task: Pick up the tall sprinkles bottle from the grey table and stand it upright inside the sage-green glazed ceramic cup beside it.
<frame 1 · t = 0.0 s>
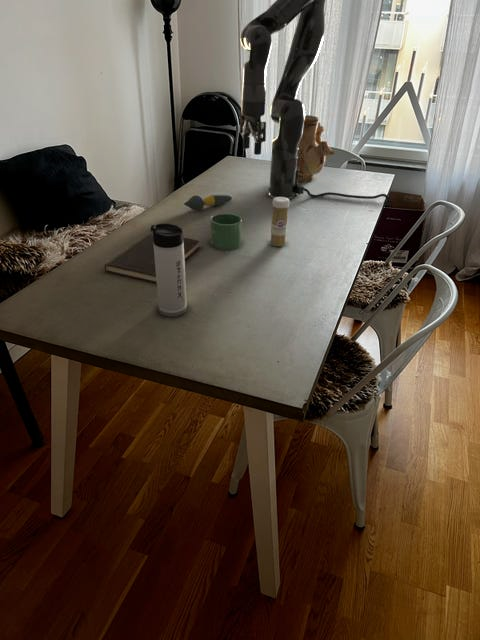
hand: (251, 151, 157), 17 cm above the table, tool pointing down, fingers open, 8 cm apart
travel mug: (172, 310, 106), on the table
sprinkles bottle: (277, 244, 137), on the table
paintbrush: (208, 207, 161), on the table
cup: (225, 243, 136), on the table
hardcover book: (155, 260, 127), on the table
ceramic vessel: (305, 179, 191), on the table
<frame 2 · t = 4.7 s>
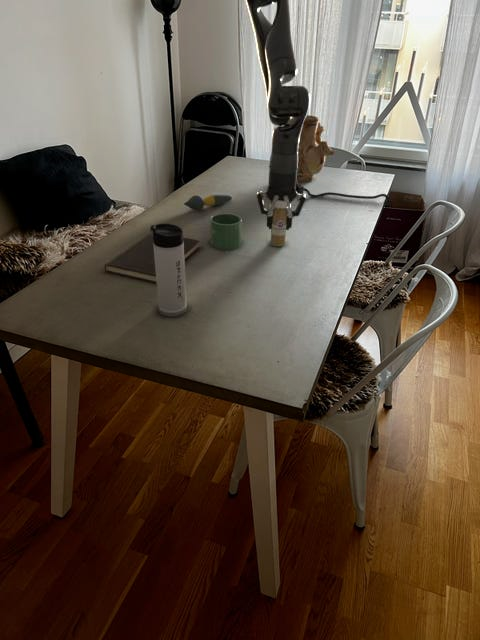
hand: (278, 228, 134), 5 cm above the table, tool pointing down, fingers closed on sprinkles bottle, 4 cm apart
sprinkles bottle: (277, 244, 137), on the table, touching gripper
everything else where it was.
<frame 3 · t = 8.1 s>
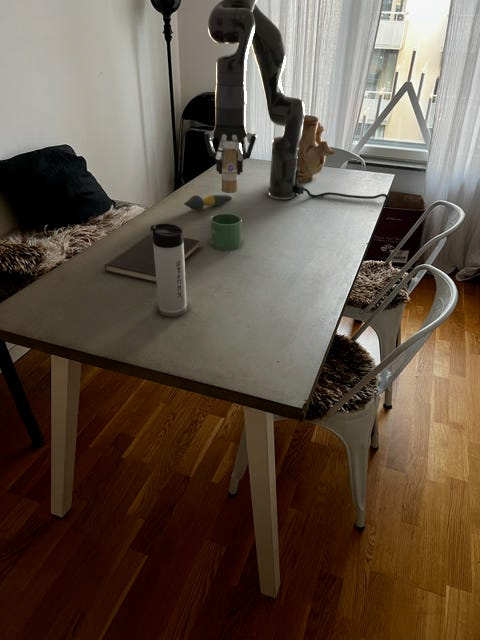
hand: (229, 173, 125), 20 cm above the table, tool pointing down, fingers closed on sprinkles bottle, 4 cm apart
sprinkles bottle: (229, 191, 128), point 15 cm above the table, touching gripper
everything else where it was.
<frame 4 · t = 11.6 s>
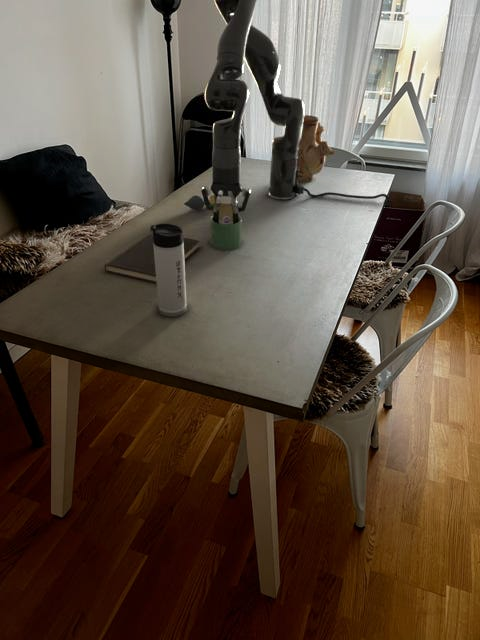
hand: (226, 224, 133), 6 cm above the table, tool pointing down, fingers closed on sprinkles bottle, 4 cm apart
sprinkles bottle: (226, 240, 136), point 1 cm above the table, touching gripper
everything else where it was.
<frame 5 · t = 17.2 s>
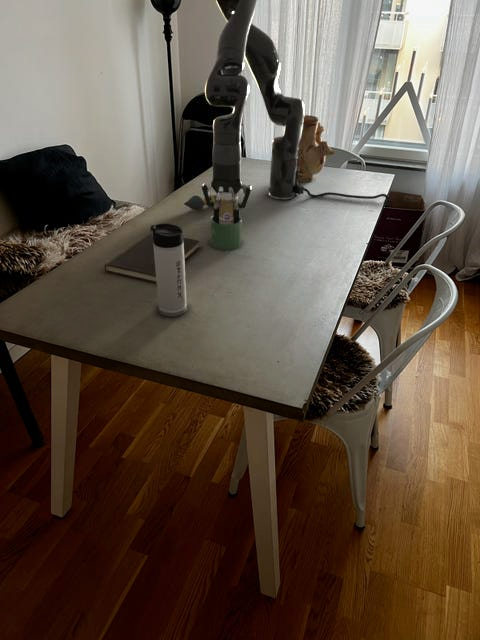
hand: (226, 220, 133), 7 cm above the table, tool pointing down, fingers closed on sprinkles bottle, 4 cm apart
sprinkles bottle: (226, 237, 135), point 2 cm above the table, touching gripper
everything else where it was.
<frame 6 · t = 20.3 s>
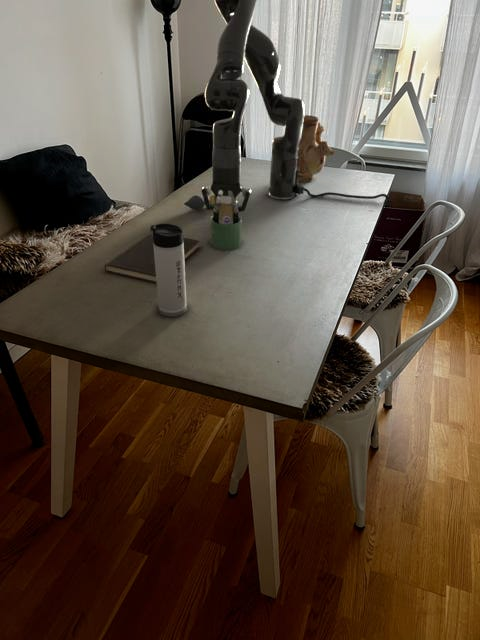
hand: (226, 223, 133), 6 cm above the table, tool pointing down, fingers closed on sprinkles bottle, 4 cm apart
sprinkles bottle: (226, 240, 136), point 1 cm above the table, touching gripper
everything else where it was.
when the fingers open (8 cm above the table, at t = 22.7 s): sprinkles bottle drops 3 cm, resting on cup.
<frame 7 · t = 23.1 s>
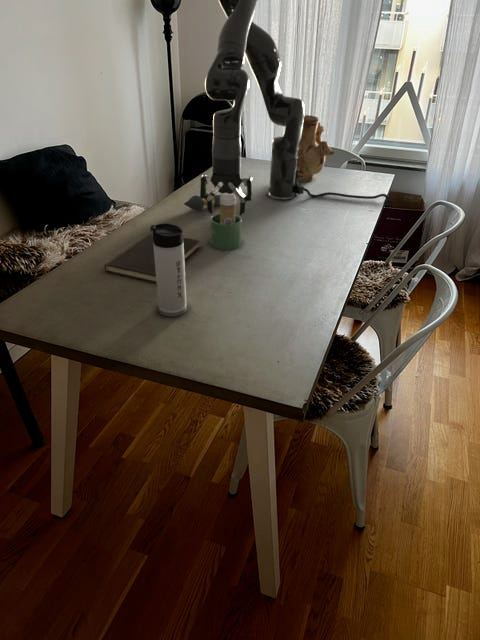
hand: (226, 213, 131), 9 cm above the table, tool pointing down, fingers open, 8 cm apart
sprinkles bottle: (227, 242, 136), resting on cup
everything else where it was.
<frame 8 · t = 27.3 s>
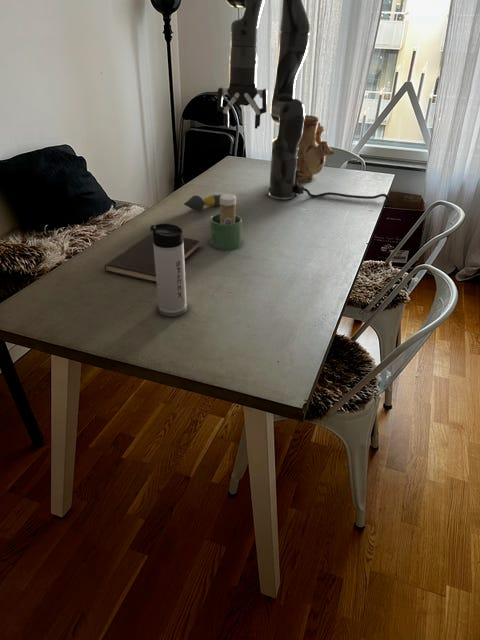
hand: (241, 127, 137), 28 cm above the table, tool pointing down, fingers open, 8 cm apart
nothing on the table moved.
at the end: sprinkles bottle 0.4 cm off-centre in the cup, point 0.4 cm above the cup's base; sprinkles bottle tilted 0°; the gripper is holding nothing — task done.
